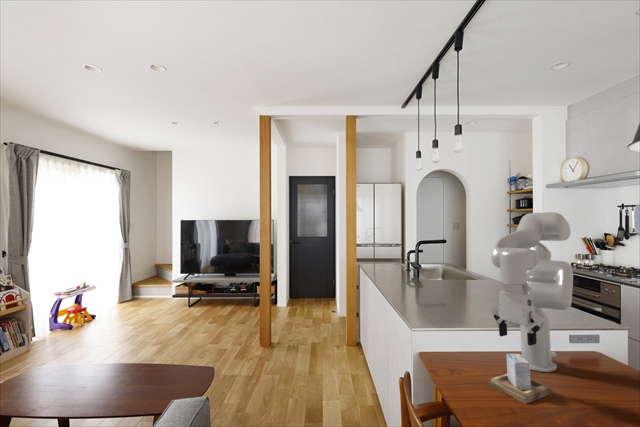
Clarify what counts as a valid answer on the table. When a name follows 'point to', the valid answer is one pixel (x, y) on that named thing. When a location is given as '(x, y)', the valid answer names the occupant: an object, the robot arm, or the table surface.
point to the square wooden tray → (523, 396)
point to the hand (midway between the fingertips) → (517, 340)
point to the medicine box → (518, 371)
